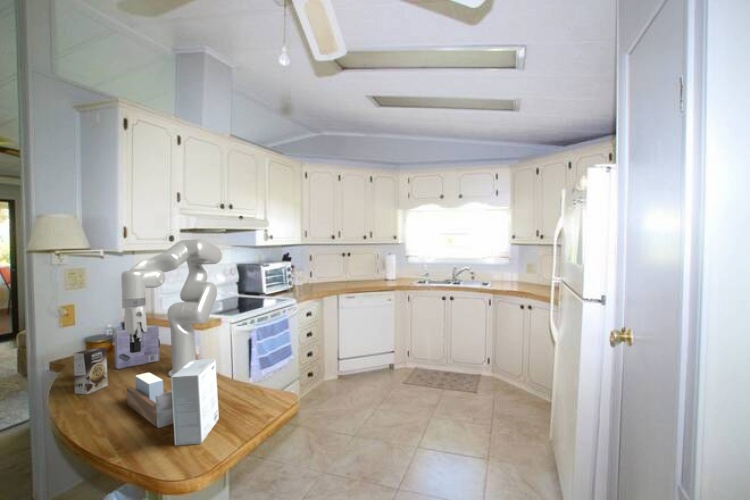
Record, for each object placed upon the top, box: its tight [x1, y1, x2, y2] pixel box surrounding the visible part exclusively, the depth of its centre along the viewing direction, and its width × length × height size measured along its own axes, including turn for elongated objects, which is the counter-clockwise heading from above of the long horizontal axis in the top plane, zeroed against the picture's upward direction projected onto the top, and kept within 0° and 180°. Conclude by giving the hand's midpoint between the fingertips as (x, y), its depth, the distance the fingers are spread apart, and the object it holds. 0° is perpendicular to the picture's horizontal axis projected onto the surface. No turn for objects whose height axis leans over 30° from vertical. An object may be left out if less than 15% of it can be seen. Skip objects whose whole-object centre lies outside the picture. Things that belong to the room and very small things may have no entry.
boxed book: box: [134, 372, 164, 403], centre depth 136 cm, size 4×14×10 cm, turn 49°
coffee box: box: [73, 346, 109, 395], centre depth 154 cm, size 9×6×16 cm
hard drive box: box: [170, 358, 220, 446], centre depth 115 cm, size 16×8×20 cm, turn 5°
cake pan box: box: [114, 325, 161, 370], centre depth 187 cm, size 19×5×18 cm, turn 134°
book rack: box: [126, 386, 174, 429], centre depth 132 cm, size 9×30×10 cm, turn 49°
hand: (135, 351), depth 143 cm, fingers closed
